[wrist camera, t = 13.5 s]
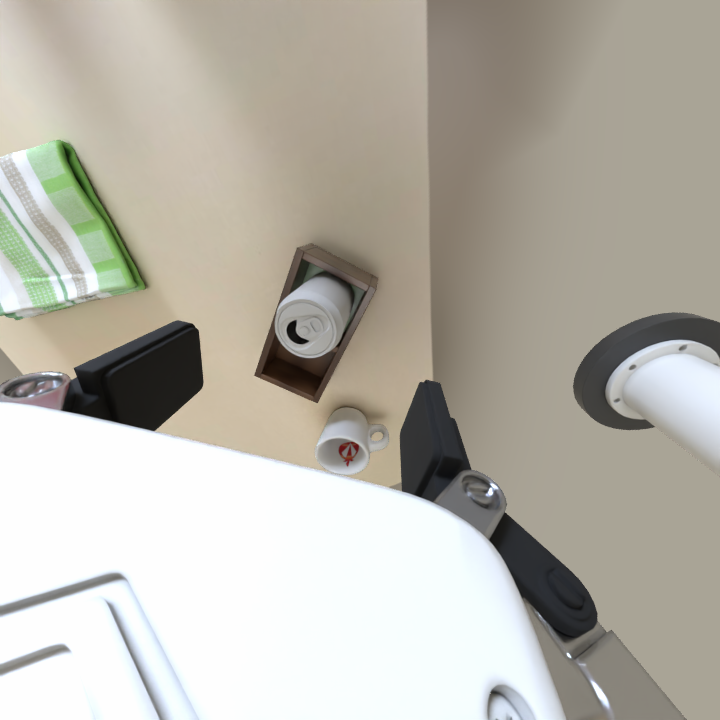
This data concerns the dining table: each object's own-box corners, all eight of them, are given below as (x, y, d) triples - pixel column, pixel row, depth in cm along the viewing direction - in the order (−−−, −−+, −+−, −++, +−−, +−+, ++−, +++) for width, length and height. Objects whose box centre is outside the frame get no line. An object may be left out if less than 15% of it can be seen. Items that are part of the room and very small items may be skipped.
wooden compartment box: (378, 278, 33) (376, 288, 28) (325, 380, 41) (317, 403, 36) (311, 243, 32) (297, 247, 27) (270, 355, 40) (253, 375, 35)
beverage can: (296, 283, 34) (255, 312, 23) (341, 261, 32) (318, 282, 21) (320, 326, 36) (293, 371, 26) (363, 308, 34) (352, 348, 24)
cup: (384, 396, 42) (384, 432, 35) (392, 433, 45) (393, 473, 38) (320, 403, 44) (307, 438, 37) (332, 439, 47) (322, 477, 40)
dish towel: (-75, 188, 33) (-123, 184, 30) (67, 135, 29) (29, 125, 26) (28, 316, 41) (-1, 324, 38) (153, 289, 37) (131, 295, 34)
